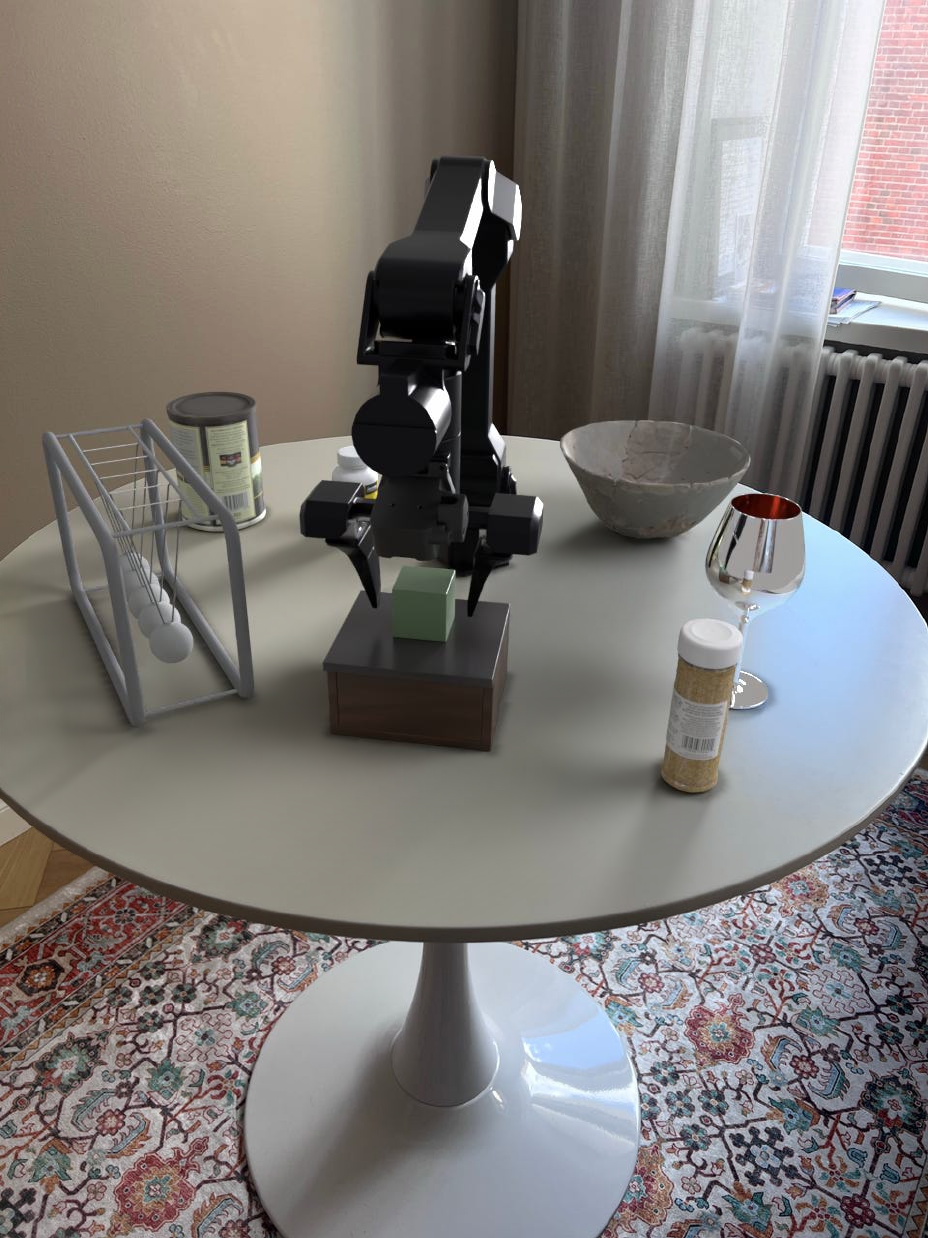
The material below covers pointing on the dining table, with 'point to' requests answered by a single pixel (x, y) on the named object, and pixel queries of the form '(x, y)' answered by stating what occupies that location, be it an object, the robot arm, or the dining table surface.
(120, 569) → the newton's cradle
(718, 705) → the sprinkles bottle
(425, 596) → the block
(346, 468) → the supplement bottle
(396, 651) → the lid
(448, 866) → the dining table surface
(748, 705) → the wineglass
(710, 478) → the ceramic bowl
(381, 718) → the walnut box
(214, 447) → the coffee can
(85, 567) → the dining table surface
